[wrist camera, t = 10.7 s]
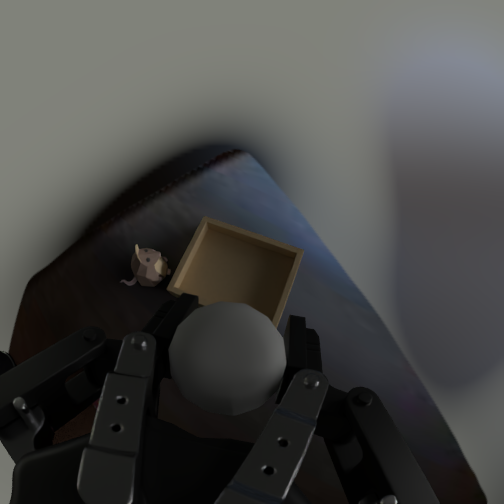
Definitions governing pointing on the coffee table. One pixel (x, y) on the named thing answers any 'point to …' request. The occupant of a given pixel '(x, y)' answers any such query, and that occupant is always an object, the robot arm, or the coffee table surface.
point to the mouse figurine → (148, 267)
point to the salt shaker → (227, 358)
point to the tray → (237, 268)
